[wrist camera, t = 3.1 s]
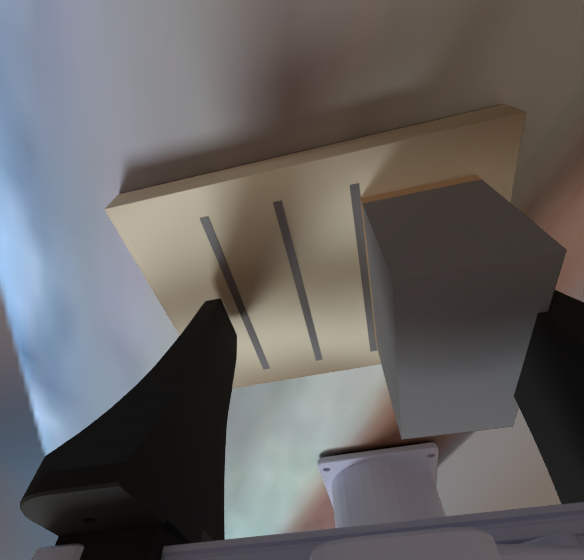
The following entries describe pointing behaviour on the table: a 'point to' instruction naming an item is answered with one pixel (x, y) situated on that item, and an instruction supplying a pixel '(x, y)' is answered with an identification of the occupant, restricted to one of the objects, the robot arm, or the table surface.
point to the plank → (299, 237)
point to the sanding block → (455, 301)
